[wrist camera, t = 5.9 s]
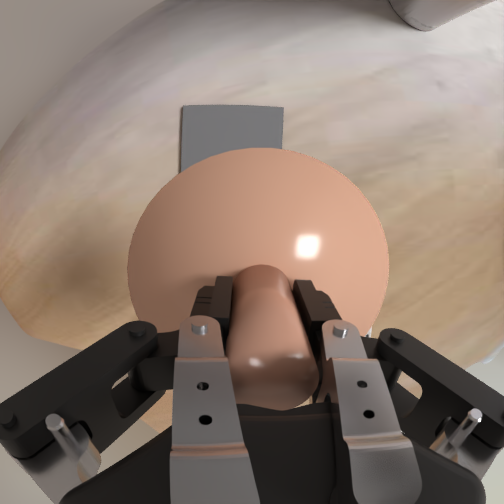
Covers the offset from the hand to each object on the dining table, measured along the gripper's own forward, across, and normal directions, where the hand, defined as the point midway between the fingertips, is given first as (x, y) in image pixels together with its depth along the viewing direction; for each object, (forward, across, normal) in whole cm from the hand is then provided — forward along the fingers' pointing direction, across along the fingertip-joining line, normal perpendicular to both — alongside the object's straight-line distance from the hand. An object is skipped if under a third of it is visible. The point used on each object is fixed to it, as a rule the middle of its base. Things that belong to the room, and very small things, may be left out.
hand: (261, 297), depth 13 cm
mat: (+23, +3, -4) cm, 24 cm away
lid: (+1, 0, 0) cm, 1 cm away
